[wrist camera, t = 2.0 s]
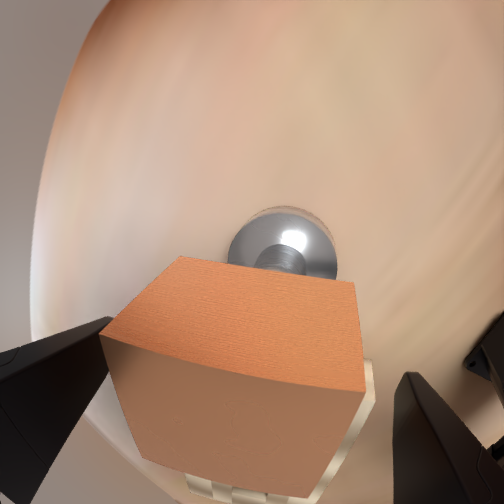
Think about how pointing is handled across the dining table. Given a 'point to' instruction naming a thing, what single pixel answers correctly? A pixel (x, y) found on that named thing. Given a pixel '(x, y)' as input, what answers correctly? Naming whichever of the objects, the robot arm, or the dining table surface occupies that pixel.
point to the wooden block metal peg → (244, 359)
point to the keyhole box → (248, 500)
